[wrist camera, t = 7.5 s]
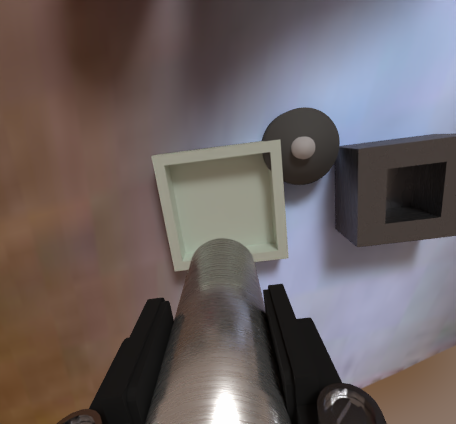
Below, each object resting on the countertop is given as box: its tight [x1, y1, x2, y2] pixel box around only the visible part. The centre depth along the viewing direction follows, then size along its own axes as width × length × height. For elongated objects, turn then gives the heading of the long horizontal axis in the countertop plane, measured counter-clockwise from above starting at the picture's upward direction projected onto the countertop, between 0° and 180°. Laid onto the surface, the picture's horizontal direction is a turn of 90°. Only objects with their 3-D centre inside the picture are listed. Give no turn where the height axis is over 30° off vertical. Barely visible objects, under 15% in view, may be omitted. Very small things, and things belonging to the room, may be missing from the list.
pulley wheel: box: [262, 108, 339, 185], centre depth 25 cm, size 7×7×3 cm
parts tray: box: [151, 140, 288, 271], centre depth 27 cm, size 12×12×3 cm
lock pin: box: [145, 238, 291, 424], centre depth 9 cm, size 4×4×11 cm
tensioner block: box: [335, 134, 456, 247], centre depth 25 cm, size 10×9×5 cm
